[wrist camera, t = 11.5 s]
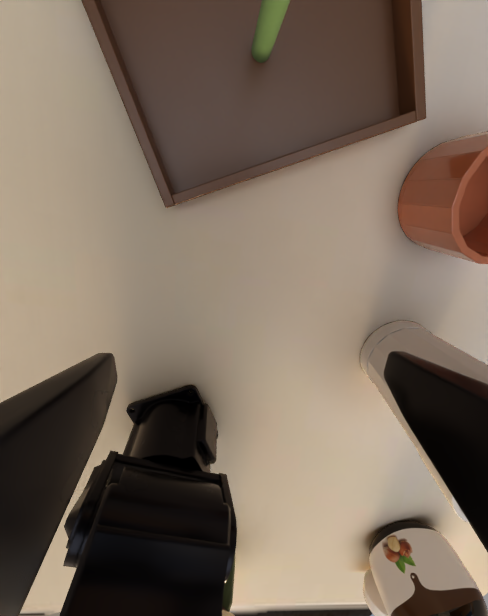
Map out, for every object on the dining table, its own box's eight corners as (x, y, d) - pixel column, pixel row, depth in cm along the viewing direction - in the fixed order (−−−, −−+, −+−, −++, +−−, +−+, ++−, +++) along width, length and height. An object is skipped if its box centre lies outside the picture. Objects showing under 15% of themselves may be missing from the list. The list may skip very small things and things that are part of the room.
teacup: (401, 260, 22) (452, 280, 17) (393, 159, 19) (450, 149, 14) (495, 230, 21) (573, 242, 17) (500, 122, 19) (597, 99, 14)
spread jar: (434, 508, 35) (528, 649, 24) (440, 554, 39) (523, 691, 29) (341, 536, 36) (393, 685, 25) (358, 579, 40) (408, 720, 29)
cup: (381, 299, 23) (529, 400, 12) (456, 327, 25) (646, 439, 14) (335, 375, 26) (421, 516, 15) (405, 396, 27) (531, 536, 16)
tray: (171, 206, 19) (165, 208, 17) (74, -37, 14) (52, -72, 12) (405, 125, 18) (426, 117, 16) (385, -161, 13) (413, -219, 12)
